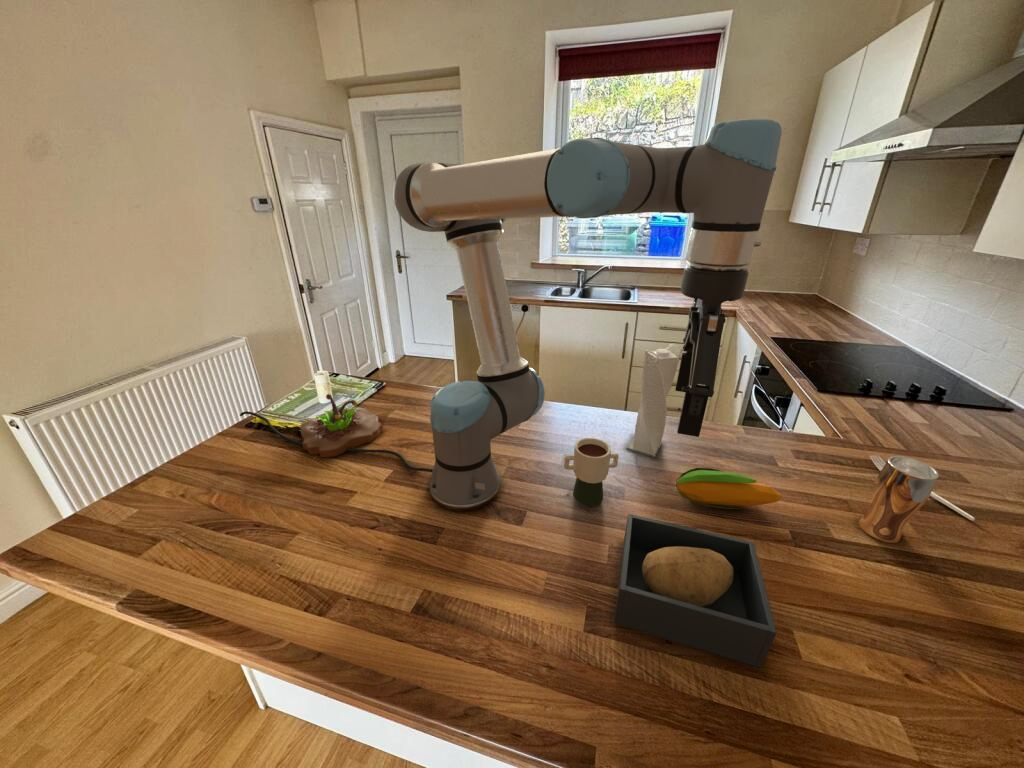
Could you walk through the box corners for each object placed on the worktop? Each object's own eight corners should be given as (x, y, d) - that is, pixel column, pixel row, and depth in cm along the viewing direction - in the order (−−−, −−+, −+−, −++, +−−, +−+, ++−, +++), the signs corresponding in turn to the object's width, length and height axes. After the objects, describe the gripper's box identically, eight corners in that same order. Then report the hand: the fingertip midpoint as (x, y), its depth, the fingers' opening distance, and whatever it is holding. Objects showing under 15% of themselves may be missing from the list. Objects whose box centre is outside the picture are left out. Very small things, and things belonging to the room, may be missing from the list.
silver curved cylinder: (892, 522, 78) (926, 459, 72) (911, 549, 72) (950, 483, 66) (849, 513, 80) (879, 451, 74) (864, 539, 74) (898, 474, 68)
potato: (742, 618, 60) (756, 582, 57) (651, 627, 59) (660, 590, 55) (707, 564, 69) (717, 529, 65) (628, 571, 68) (634, 536, 64)
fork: (966, 523, 78) (971, 516, 77) (865, 462, 95) (868, 455, 95) (979, 521, 78) (983, 513, 78) (876, 460, 96) (879, 454, 95)
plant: (361, 407, 120) (354, 373, 115) (392, 433, 107) (386, 396, 102) (289, 432, 108) (279, 395, 103) (315, 465, 95) (304, 424, 90)
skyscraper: (667, 445, 102) (687, 341, 90) (659, 462, 96) (680, 352, 84) (634, 435, 106) (649, 335, 94) (624, 451, 100) (639, 345, 88)
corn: (676, 457, 85) (779, 467, 81) (670, 484, 88) (768, 494, 85) (683, 481, 78) (795, 493, 75) (676, 509, 82) (782, 521, 79)
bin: (613, 623, 60) (619, 588, 57) (623, 544, 73) (628, 513, 70) (761, 668, 54) (777, 633, 51) (742, 574, 68) (753, 541, 64)
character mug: (608, 486, 88) (614, 436, 82) (618, 509, 82) (625, 456, 76) (559, 488, 87) (562, 438, 82) (565, 511, 81) (568, 459, 75)
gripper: (772, 287, 39) (723, 463, 48) (735, 253, 60) (705, 380, 70) (690, 282, 41) (658, 451, 51) (681, 251, 63) (660, 374, 72)
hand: (685, 410), depth 60 cm, fingers open, 13 cm apart
